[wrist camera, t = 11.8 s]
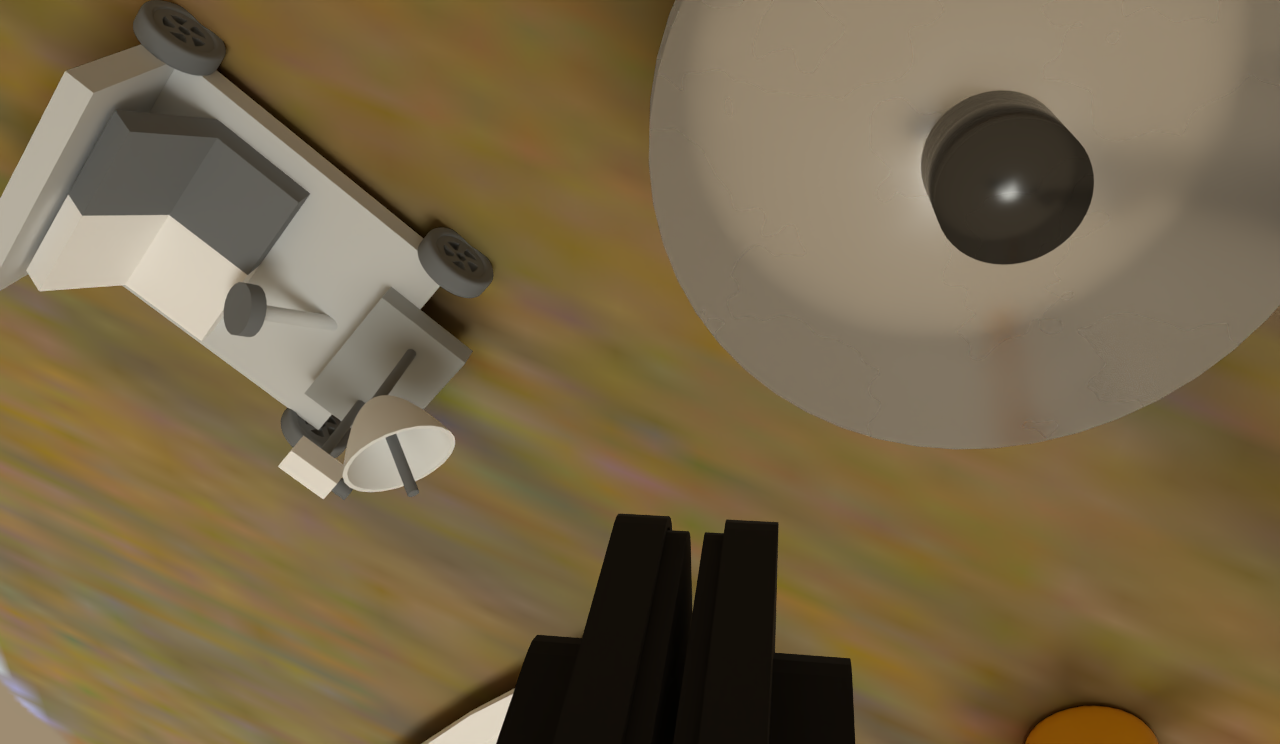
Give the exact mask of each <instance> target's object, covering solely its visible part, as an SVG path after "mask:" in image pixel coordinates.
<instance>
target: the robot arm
mask: <svg viewBox="0 0 1280 744" xmlns="http://www.w3.org/2000/svg"><path fill="white" fill-rule="evenodd" d="M777 558H778V522H760V521H742V520H726V523H725V530H724V533H706V532H705V535H704V540H703V547H702V553H701V560H700V567H699V573H698V580H697V587H696V593H695V600H694V607H693V613H692V581H691V542H690V533H689V531H672V523H671V518H670V517H669V516H652V515H634V514H618V515H617V517H616V520H615V522H614V526H613V530H612V533H611V537H610V540H609V544H608V547H607V551H606V555H605V558H604V562H603V565H602V569H601V573H600V576H599V580H598V583H597V587H596V590H595V594H594V598H593V601H592V605H591V608H590V612H589V616H588V619H587V623H586V626H585V630H584V633H583V637H582V638H571V637H558V636H545V635H537V636H536V637H535V638H534V639H533V640H532V642H531V645H530V647H529V649H528V652H527V654H526V657H525V660H524V663H523V666H522V669H521V672H520V675H519V678H518V681H517V684H516V687H515V690H514V693H513V696H512V698H511V701H510V704H509V707H508V710H507V713H506V716H505V719H504V722H503V725H502V728H501V731H500V734H499V737H498V740H497V743H496V744H855V729H854V708H853V686H852V669H851V661H850V658H837V657H824V656H810V655H797V654H784V653H775V630H776V594H777Z"/></svg>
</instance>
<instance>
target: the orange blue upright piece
mask: <svg viewBox="0 0 1280 744" xmlns="http://www.w3.org/2000/svg"><path fill="white" fill-rule="evenodd" d="M1025 744H1159V743H1158V740H1157V738H1156V736H1155V735H1154V733H1153V732H1152V730H1151V729H1150V728H1149V727H1148V726H1147V725H1146V724H1145V723H1144V722H1143V721H1142V720H1140V719H1139V718H1137V717H1135V716H1134V715H1132V714H1130V713H1127V712H1125V711H1123V710H1120V709H1115V708H1111V707H1104V706H1080V707H1075V708H1069V709H1066V710H1063V711H1060V712H1057V713H1055V714H1053V715H1051V716H1049V717H1047V718H1045V719H1044V720H1043V721H1041V722H1040V723H1038V724H1037V725H1036V726H1035V728H1034V729H1033V730H1032V731H1031V732H1030V734H1029V736H1028V738H1027V739H1026V743H1025Z"/></svg>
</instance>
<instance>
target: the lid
mask: <svg viewBox="0 0 1280 744" xmlns="http://www.w3.org/2000/svg"><path fill="white" fill-rule="evenodd" d="M649 169H650V178H651V187H652V196H653V205H654V209H655V213H656V217H657V221H658V225H659V229H660V233H661V237H662V241H663V245H664V247H665V250H666V252H667V255H668V257H669V260H670V262H671V265H672V267H673V270H674V272H675V275H676V277H677V280H678V282H679V283H680V285H681V287H682V289H683V290H684V292H685V294H686V296H687V298H688V299H689V301H690V303H691V305H692V306H693V308H694V310H695V312H696V313H697V315H698V316H699V317H700V319H701V320H702V321H703V323H704V324H705V325H706V327H707V328H708V329H709V331H710V332H711V333H712V335H713V336H714V337H715V339H716V340H717V341H718V343H719V344H720V345H721V346H722V347H723V348H724V349H725V350H726V351H727V352H728V353H729V354H730V355H731V356H732V357H733V358H734V359H735V360H736V361H737V362H738V363H739V364H740V365H741V366H742V367H743V368H744V369H745V370H746V371H747V372H749V373H750V374H751V375H752V376H754V377H755V378H756V379H758V380H759V381H760V382H761V383H763V384H764V385H765V386H766V387H768V388H769V389H770V390H772V391H773V392H774V393H776V394H777V395H779V396H781V397H782V398H784V399H786V400H787V401H789V402H791V403H792V404H794V405H796V406H797V407H799V408H801V409H802V410H804V411H806V412H808V413H810V414H812V415H814V416H817V417H819V418H821V419H823V420H826V421H828V422H830V423H832V424H835V425H837V426H839V427H841V428H845V429H848V430H851V431H854V432H857V433H861V434H864V435H867V436H870V437H873V438H877V439H881V440H886V441H892V442H897V443H902V444H907V445H913V446H921V447H933V448H946V449H983V448H1000V447H1008V446H1016V445H1023V444H1031V443H1037V442H1042V441H1046V440H1050V439H1054V438H1059V437H1063V436H1067V435H1071V434H1075V433H1079V432H1082V431H1085V430H1088V429H1090V428H1093V427H1096V426H1099V425H1102V424H1105V423H1108V422H1111V421H1113V420H1116V419H1119V418H1121V417H1123V416H1125V415H1128V414H1130V413H1132V412H1134V411H1136V410H1138V409H1140V408H1143V407H1145V406H1147V405H1149V404H1151V403H1153V402H1156V401H1158V400H1159V399H1161V398H1163V397H1165V396H1166V395H1168V394H1170V393H1171V392H1173V391H1175V390H1176V389H1178V388H1180V387H1181V386H1183V385H1185V384H1186V383H1188V382H1190V381H1191V380H1193V379H1195V378H1197V377H1198V376H1199V375H1201V374H1202V373H1203V372H1205V371H1206V370H1207V369H1209V368H1210V367H1211V366H1213V365H1214V364H1215V363H1217V362H1218V361H1219V360H1221V359H1222V358H1224V357H1225V356H1226V355H1228V354H1229V353H1230V352H1232V351H1233V350H1234V349H1235V348H1236V347H1237V346H1239V345H1240V344H1241V343H1242V342H1243V341H1244V340H1245V339H1246V338H1247V337H1248V336H1249V335H1251V334H1252V333H1253V332H1254V331H1255V330H1256V329H1257V328H1258V327H1259V326H1260V325H1261V324H1262V323H1264V322H1265V321H1266V320H1267V319H1268V318H1269V317H1270V316H1271V314H1272V313H1273V312H1274V311H1275V310H1276V309H1277V308H1278V306H1279V305H1280V0H683V2H682V5H681V7H680V9H679V11H678V14H677V16H676V18H675V21H674V23H673V25H672V27H671V30H670V33H669V36H668V39H667V43H666V46H665V50H664V53H663V57H662V60H661V63H660V67H659V70H658V74H657V78H656V85H655V91H654V97H653V104H652V110H651V116H650V138H649Z"/></svg>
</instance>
